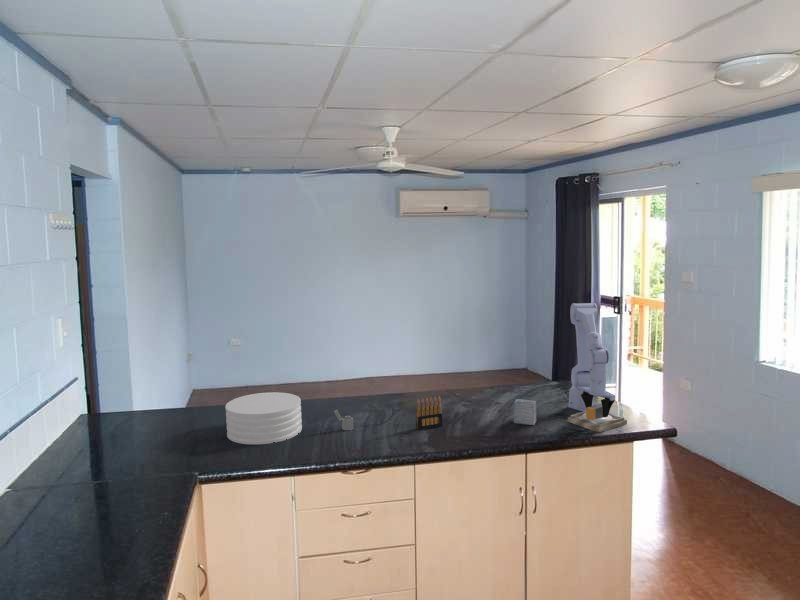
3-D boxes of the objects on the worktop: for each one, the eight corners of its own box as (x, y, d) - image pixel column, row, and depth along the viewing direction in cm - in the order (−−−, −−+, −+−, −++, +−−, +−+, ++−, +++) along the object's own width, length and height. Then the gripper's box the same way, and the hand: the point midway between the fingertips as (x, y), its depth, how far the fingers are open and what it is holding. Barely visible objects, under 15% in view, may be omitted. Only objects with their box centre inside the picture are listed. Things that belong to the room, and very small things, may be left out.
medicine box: (536, 422, 227) (536, 400, 226) (533, 425, 223) (534, 403, 222) (516, 419, 231) (516, 398, 230) (513, 423, 227) (513, 401, 226)
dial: (576, 417, 227) (576, 405, 226) (594, 412, 233) (594, 400, 232) (599, 425, 217) (599, 412, 217) (618, 419, 223) (618, 407, 223)
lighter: (353, 428, 225) (352, 408, 224) (353, 429, 223) (352, 409, 222) (334, 429, 224) (333, 409, 223) (334, 431, 222) (334, 411, 221)
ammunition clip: (440, 424, 227) (440, 394, 226) (442, 425, 225) (442, 395, 224) (415, 428, 223) (415, 398, 222) (417, 430, 221) (416, 399, 220)
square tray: (567, 421, 227) (567, 414, 227) (594, 413, 236) (594, 407, 235) (599, 432, 215) (599, 425, 214) (626, 423, 223) (627, 417, 223)
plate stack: (223, 426, 231) (221, 397, 230) (292, 415, 242) (291, 388, 241) (232, 449, 206) (230, 418, 204) (310, 437, 217) (308, 407, 215)
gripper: (575, 377, 227) (575, 411, 229) (607, 385, 215) (606, 421, 217) (587, 374, 231) (587, 408, 232) (619, 382, 219) (618, 417, 220)
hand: (597, 414), depth 225 cm, fingers open, 7 cm apart
